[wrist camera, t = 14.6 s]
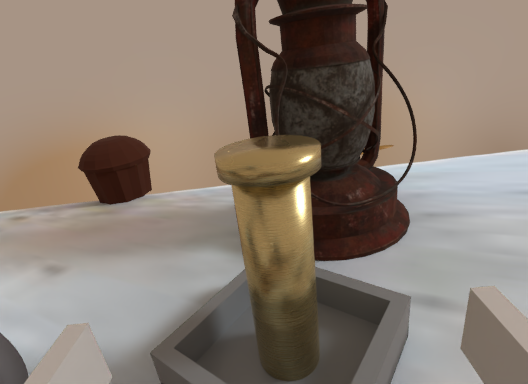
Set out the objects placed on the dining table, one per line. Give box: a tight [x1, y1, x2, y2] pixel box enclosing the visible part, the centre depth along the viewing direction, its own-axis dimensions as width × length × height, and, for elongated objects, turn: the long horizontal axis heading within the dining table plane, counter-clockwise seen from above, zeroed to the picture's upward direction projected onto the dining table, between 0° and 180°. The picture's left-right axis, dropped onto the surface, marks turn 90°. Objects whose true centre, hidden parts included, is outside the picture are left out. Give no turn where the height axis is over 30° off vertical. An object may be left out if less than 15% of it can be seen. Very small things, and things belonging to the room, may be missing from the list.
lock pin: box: [214, 135, 321, 381], centre depth 18 cm, size 5×5×14 cm
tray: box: [150, 267, 411, 384], centre depth 21 cm, size 12×12×4 cm
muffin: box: [78, 136, 152, 205], centre depth 55 cm, size 12×11×10 cm
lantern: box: [232, 0, 417, 261], centre depth 34 cm, size 19×19×30 cm
